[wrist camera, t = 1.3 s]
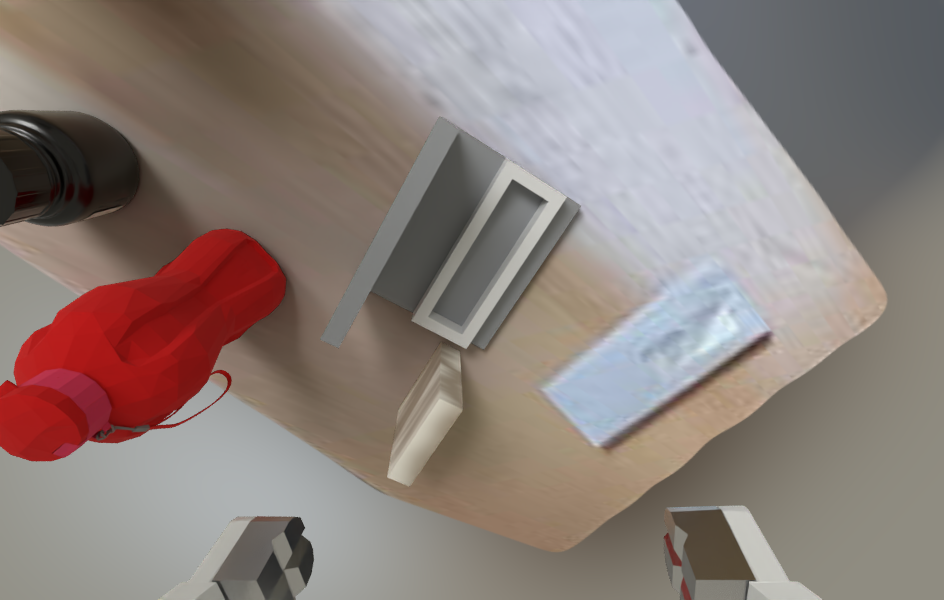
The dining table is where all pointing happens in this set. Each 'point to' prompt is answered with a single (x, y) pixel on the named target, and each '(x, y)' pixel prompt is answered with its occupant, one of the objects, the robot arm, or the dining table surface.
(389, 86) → the dining table surface
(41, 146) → the ink bottle
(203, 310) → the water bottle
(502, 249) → the grey tablet stand
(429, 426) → the door panel
